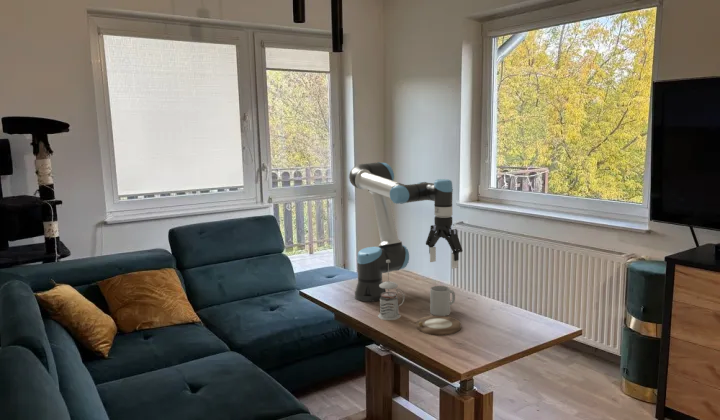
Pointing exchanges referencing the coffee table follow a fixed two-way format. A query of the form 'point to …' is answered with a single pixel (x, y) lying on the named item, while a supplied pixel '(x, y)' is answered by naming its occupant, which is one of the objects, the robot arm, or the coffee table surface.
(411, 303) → the coffee table surface
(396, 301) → the french press
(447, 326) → the ring
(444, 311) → the mug
